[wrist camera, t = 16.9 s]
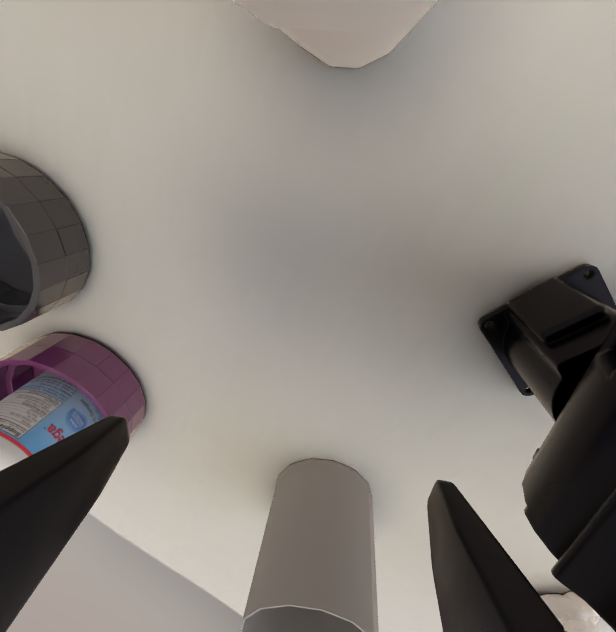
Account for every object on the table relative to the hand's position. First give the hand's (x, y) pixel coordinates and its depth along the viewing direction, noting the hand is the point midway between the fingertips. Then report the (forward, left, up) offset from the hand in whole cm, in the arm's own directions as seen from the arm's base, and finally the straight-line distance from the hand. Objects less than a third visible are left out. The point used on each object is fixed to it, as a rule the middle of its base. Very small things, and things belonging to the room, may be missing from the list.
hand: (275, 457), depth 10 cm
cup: (-15, +11, -13) cm, 23 cm away
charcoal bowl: (+15, +14, -13) cm, 24 cm away
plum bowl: (+4, +21, -13) cm, 25 cm away
